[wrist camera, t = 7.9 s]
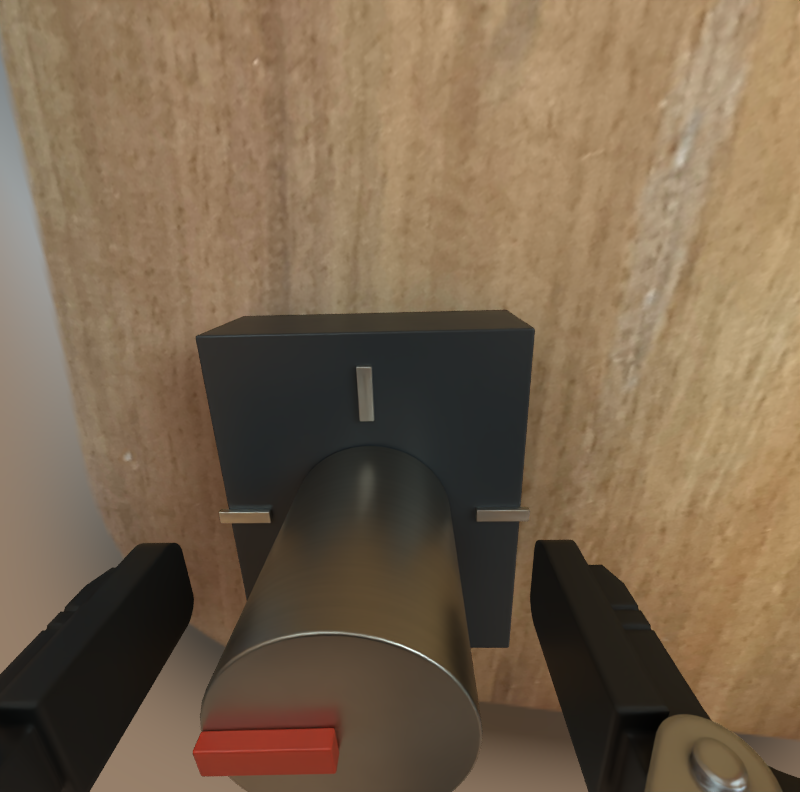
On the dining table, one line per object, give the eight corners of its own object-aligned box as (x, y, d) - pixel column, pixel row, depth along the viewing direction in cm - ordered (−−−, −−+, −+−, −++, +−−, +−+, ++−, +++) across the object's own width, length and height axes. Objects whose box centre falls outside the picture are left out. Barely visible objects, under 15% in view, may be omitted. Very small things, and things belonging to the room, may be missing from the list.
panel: (497, 576, 16) (516, 653, 13) (277, 577, 16) (247, 652, 13) (514, 309, 12) (546, 329, 9) (236, 315, 13) (182, 337, 10)
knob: (447, 440, 11) (484, 648, 5) (452, 572, 12) (487, 846, 6) (283, 450, 11) (152, 660, 5) (308, 578, 12) (224, 849, 7)
